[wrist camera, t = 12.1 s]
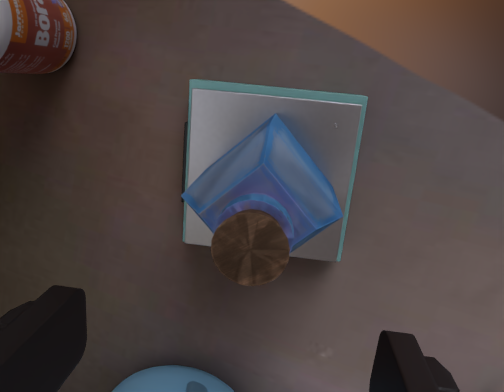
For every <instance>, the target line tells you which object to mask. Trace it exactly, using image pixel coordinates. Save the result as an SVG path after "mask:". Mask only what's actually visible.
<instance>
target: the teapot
mask: <svg viewBox="0 0 504 392" xmlns="http://www.w3.org/2000/svg"><path fill="white" fill-rule="evenodd" d="M112 392H235V391H234V390H233V389H232V388H230V387H229V386H228V385H227V384H226V383H224V382H223V381H222V380H220V379H219V378H217V377H215V376H213V375H212V374H210V373H207V372H205V371H203V370H200V369H196V368H193V367H188V366H180V365H164V366H157V367H151V368H148V369H144V370H141V371H139V372H136V373H134V374H132V375H131V376H129V377H128V378H126V379H125V380H123V381H122V382H121V383H120V384H119V385H117V386H116V387H115V389H114V390H113V391H112Z"/></svg>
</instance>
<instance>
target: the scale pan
mask: <svg viewBox="0 0 504 392" xmlns="http://www.w3.org/2000/svg"><path fill="white" fill-rule="evenodd" d="M361 110H362V105H361V104H352V103H342V102H332V101H322V100H312V99H302V98H291V97H281V96H271V95H261V94H251V93H241V92H231V91H220V90H210V89H200V88H192V100H191V121H190V143H189V164H188V186H187V189H188V188H189V186H190V185H191V184H192V183H193V182H194V181H195V180H196V179H197V178H198V177H199V176H200V175H201V174H202V173H203V172H204V171H205V170H206V169H207V168H208V167H210V166H211V165H212V164H213V163H215V162H216V161H217V160H218V159H220V158H221V157H222V156H223V155H224V154H226V153H227V152H228V151H229V150H231V149H232V148H233V147H234V146H236V145H237V144H238V143H239V142H241V141H242V140H243V139H244V138H245V137H247V136H248V135H249V134H250V133H252V132H253V131H254V130H255V129H257V128H258V127H259V126H260V125H262V124H263V123H264V122H265V121H266V120H268V119H269V118H270V117H271V116H273V115H274V114H275V113H276V114H277V116H278V117H279V118H280V119H281V121H282V122H283V123H284V125H285V126H286V127H287V128H288V130H289V131H290V132H291V134H292V135H293V136H294V137H295V139H296V140H297V141H298V143H299V144H300V145H301V146H302V148H303V149H304V150H305V151H306V153H307V154H308V155H309V157H310V158H311V159H312V160H313V162H314V163H315V164H316V166H317V167H318V168H319V169H320V171H321V172H322V173H323V175H324V176H325V177H326V178H327V180H328V181H329V182H330V184H331V185H332V186H333V189H334V191H335V194H336V197H337V200H338V202H339V205H340V208H341V211H342V214H343V217H342V218H341V219H339V220H338V221H336V222H335V223H333V224H332V225H330V226H329V227H328V228H326V229H325V230H323V231H322V232H320V233H319V234H317V235H316V236H315V237H313V238H312V239H310V240H309V241H307V242H306V243H304V244H303V245H302V246H300V247H299V248H297V249H296V250H294V251H293V252H291V253H290V254H289V256H290V257H298V258H306V259H314V260H322V261H330V262H336V261H337V255H338V249H339V243H340V237H341V231H342V225H343V219H344V213H345V207H346V201H347V195H348V189H349V183H350V177H351V171H352V165H353V159H354V152H355V146H356V140H357V134H358V128H359V122H360V116H361ZM212 237H213V233H212V231H211V230H210V229H209V228H208V227H207V226H206V225H205V223H204V222H203V221H202V220H201V219H200V218H199V216H198V215H197V214H196V213H195V212H194V211H193V209H192V208H191V207H190V206H189V205H188V204H187V207H186V229H185V243H187V244H195V245H203V246H210V247H211V241H212Z"/></svg>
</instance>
